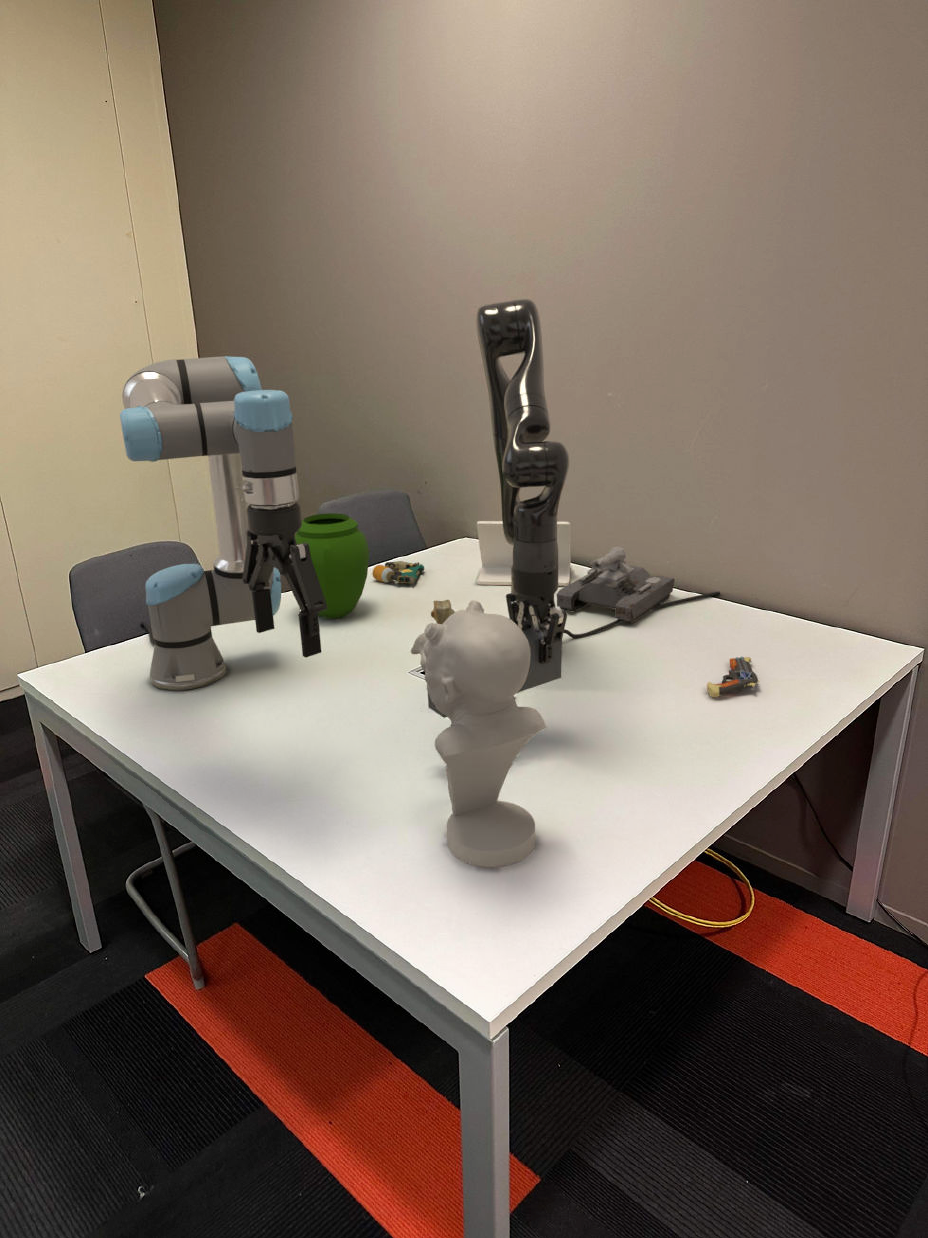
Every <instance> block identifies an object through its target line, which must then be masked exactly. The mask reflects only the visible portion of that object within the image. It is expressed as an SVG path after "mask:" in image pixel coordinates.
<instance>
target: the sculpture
mask: <svg viewBox="0 0 928 1238" xmlns="http://www.w3.org/2000/svg"><path fill="white" fill-rule="evenodd" d="M455 612H456V611H455V609H453V608H452V602H451V601H450V599H445V600H433V610H431V612H430V617H431V618H432V619H433V620H434V621H435V622H436V623H435V624H443V623H444V622H445V620H446V619H447V618H448V617H450V616H451V615H452V614H453V613H455Z"/></svg>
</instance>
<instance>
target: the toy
mask: <svg viewBox="0 0 928 1238" xmlns="http://www.w3.org/2000/svg"><path fill="white" fill-rule="evenodd" d="M626 557H627V556H626V551H625V549H624V548H622V547H621V546H614V547H612V548H611V549H610V550H609V552H608V553H607V554H605V555H604V556H601V557H599V558H598V559H597V557H596V558H594V559H593V560H592V561H590V562H589V563H590V564H591V565H592V567H591V568H590V569H589V570H587V573H586V575H584V576H582V577H580V578H578V579H577V580H575V581H573V582H570V583H569V585H567V586H563V587H562V588H560V589H559V590H557V592H556V593H555V594H556V607H558V608H559V609H560V610H562V611H566V612H572V613H575V612H577V611H579V610H581V609H582V608H585V607H586V606H588V605H592V606H598V607H602V608H603V607H604V608H609V609H613V610H614V618H615V619H616V620H618V619H620V620H621V621H622V622H626V623H631V624H634V623H635V622H637V621H638V620H640V619H641V618H642V617H644V616H645V615H647V614H648V613H650V612H651V611H653V610H652V609H653V607H654V606H656V605H659V604H663V603H665V602H667V600H669V598H670V596H671V594H672V593H673V591H674V585H675V580H676V579H675V578H673V577H668V576H663V575H656V576H655V577H654V576H651V574H650V573H649V572H648V571H647V570H646V568H644V567H641V566H635V565H629V564H628V563H627V562H626V561H625V559H626Z"/></svg>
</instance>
